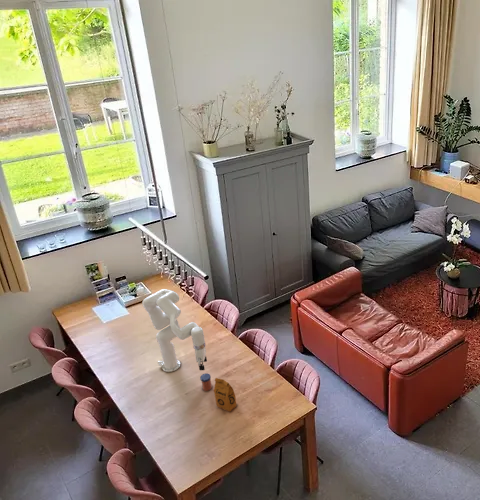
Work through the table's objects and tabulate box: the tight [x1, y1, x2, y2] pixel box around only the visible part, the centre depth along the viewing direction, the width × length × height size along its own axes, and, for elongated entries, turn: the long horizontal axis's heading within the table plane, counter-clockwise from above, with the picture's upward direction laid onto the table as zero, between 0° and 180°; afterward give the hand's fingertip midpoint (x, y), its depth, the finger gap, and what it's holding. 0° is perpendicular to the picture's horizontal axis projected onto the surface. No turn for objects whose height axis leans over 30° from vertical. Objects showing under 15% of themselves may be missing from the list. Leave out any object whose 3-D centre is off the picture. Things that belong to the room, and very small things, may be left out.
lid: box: [199, 372, 212, 383], centre depth 355 cm, size 7×7×2 cm
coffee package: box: [213, 377, 237, 412], centre depth 339 cm, size 10×12×22 cm
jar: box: [200, 378, 213, 392], centre depth 357 cm, size 6×6×9 cm
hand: (203, 365), depth 350 cm, fingers open, 7 cm apart
